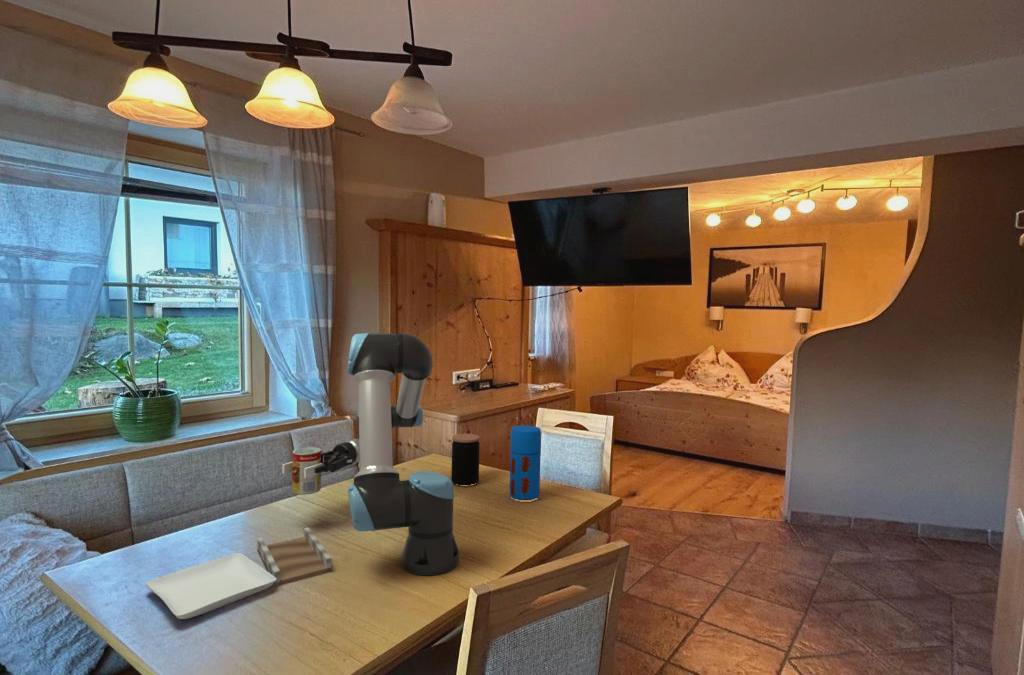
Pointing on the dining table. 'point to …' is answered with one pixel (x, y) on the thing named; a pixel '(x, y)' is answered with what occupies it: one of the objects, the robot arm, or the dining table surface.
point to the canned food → (301, 461)
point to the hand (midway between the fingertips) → (294, 471)
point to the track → (294, 558)
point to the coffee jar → (465, 459)
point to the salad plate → (210, 585)
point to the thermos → (525, 462)
